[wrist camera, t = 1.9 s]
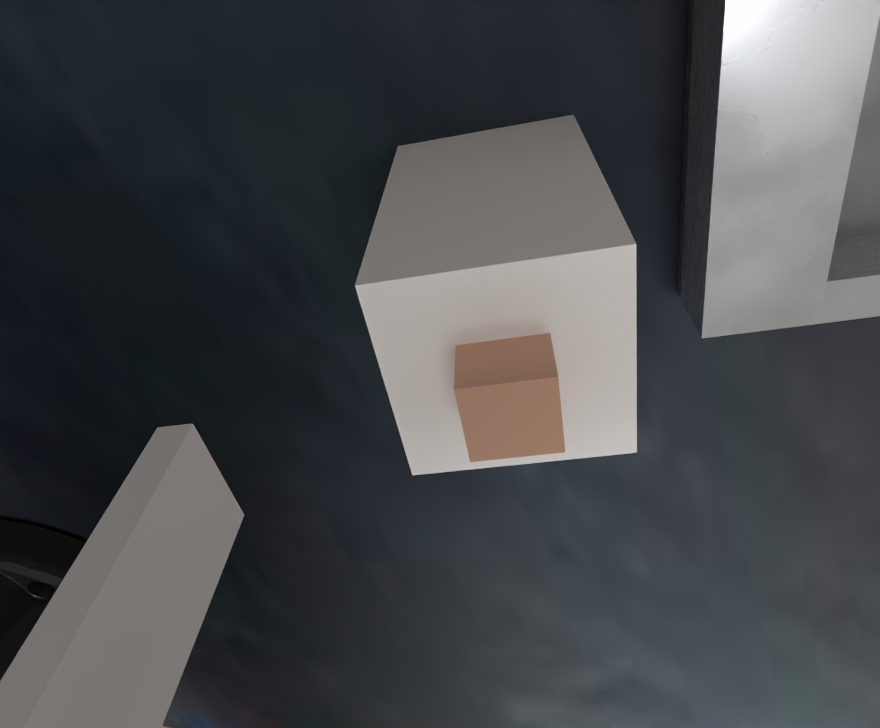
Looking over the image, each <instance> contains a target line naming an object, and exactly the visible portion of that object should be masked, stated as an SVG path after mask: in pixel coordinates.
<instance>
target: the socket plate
mask: <svg viewBox="0 0 880 728" xmlns="http://www.w3.org/2000/svg"><path fill="white" fill-rule="evenodd" d="M677 293H678V295H679V297H680V299H681V301H682V302H683V304H684V306H685V308H686V310H687V312H688V314H689V316H690V317H691V319H692V321H693V323H694V325H695V327H696V329H697V331H698V332H699V334H700V336H701V338H709V337H717V336H725V335H732V334H740V333H748V332H756V331H764V330H772V329H780V328H788V327H796V326H804V325H812V324H820V323H828V322H836V321H844V320H852V319H860V318H868V317H876V316H880V0H689V2H688V26H687V51H686V76H685V100H684V125H683V150H682V174H681V199H680V224H679V248H678V273H677Z"/></svg>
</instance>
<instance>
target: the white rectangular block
mask: <svg viewBox="0 0 880 728" xmlns="http://www.w3.org/2000/svg"><path fill="white" fill-rule="evenodd" d="M355 288H356V291H357V294H358V298H359V301H360V304H361V308H362V311H363V314H364V317H365V321H366V324H367V327H368V331H369V334H370V337H371V340H372V344H373V347H374V350H375V354H376V357H377V360H378V364H379V367H380V370H381V373H382V377H383V380H384V383H385V387H386V390H387V393H388V396H389V400H390V403H391V406H392V410H393V413H394V416H395V420H396V423H397V426H398V429H399V433H400V436H401V439H402V443H403V446H404V449H405V452H406V456H407V459H408V462H409V466H410V469H411V472H412V475H421V474H430V473H440V472H450V471H460V470H470V469H480V468H490V467H499V466H509V465H519V464H529V463H539V462H549V461H559V460H569V459H578V458H588V457H598V456H608V455H618V454H628V453H637V325H636V242H635V240H634V238H633V236H632V234H631V232H630V230H629V228H628V226H627V224H626V222H625V220H624V218H623V216H622V213H621V211H620V209H619V207H618V205H617V203H616V201H615V199H614V197H613V195H612V193H611V191H610V189H609V187H608V185H607V183H606V181H605V178H604V176H603V174H602V172H601V170H600V168H599V166H598V164H597V162H596V160H595V158H594V156H593V154H592V152H591V150H590V148H589V146H588V143H587V141H586V139H585V137H584V135H583V133H582V131H581V129H580V127H579V125H578V123H577V121H576V119H575V117H574V115H569V116H563V117H558V118H552V119H547V120H541V121H535V122H530V123H524V124H519V125H513V126H508V127H502V128H497V129H491V130H485V131H480V132H474V133H469V134H463V135H458V136H452V137H446V138H441V139H435V140H430V141H424V142H419V143H413V144H407V145H402V146H398V147H397V151H396V154H395V157H394V160H393V164H392V167H391V170H390V173H389V177H388V180H387V183H386V186H385V190H384V193H383V196H382V199H381V202H380V206H379V209H378V212H377V215H376V219H375V222H374V225H373V228H372V232H371V235H370V238H369V241H368V245H367V248H366V251H365V254H364V258H363V261H362V264H361V267H360V270H359V274H358V277H357V280H356V283H355Z"/></svg>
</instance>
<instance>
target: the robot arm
mask: <svg viewBox="0 0 880 728" xmlns="http://www.w3.org/2000/svg"><path fill="white" fill-rule="evenodd" d="M243 517H244V514H243V512H242V510H241V508H240V506H239V505H238V503H237V501H236V499H235V498H234V496H233V494H232V492H231V490H230V489H229V487H228V485H227V483H226V482H225V480H224V478H223V476H222V474H221V473H220V471H219V469H218V467H217V466H216V464H215V462H214V460H213V458H212V457H211V455H210V453H209V451H208V449H207V448H206V446H205V444H204V442H203V441H202V439H201V437H200V435H199V433H198V432H197V430H196V428H195V426H194V425H193V424H184V425H175V426H166V427H157V429H156V431H155V432H154V434H153V435H152V437H151V439H150V440H149V442H148V444H147V445H146V447H145V448H144V450H143V452H142V453H141V455H140V456H139V458H138V460H137V461H136V463H135V465H134V466H133V468H132V469H131V471H130V473H129V474H128V476H127V477H126V479H125V481H124V482H123V484H122V485H121V487H120V489H119V490H118V492H117V494H116V495H115V497H114V498H113V500H112V502H111V503H110V505H109V506H108V508H107V510H106V511H105V513H104V515H103V516H102V518H101V519H100V521H99V523H98V524H97V526H96V527H95V529H94V531H93V532H92V534H91V536H90V537H89V539H88V540H87V542H86V543H85V542H82V541H80V540H77V539H75V538H72V537H70V536H67V535H64V534H61V533H58V532H55V531H52V530H49V529H45V528H41V527H37V526H34V525H29V524H24V523H19V522H13V521H7V520H0V728H161V727H162V725H163V722H164V720H165V717H166V715H167V712H168V709H169V707H170V704H171V702H172V699H173V697H174V694H175V691H176V689H177V686H178V684H179V681H180V679H181V676H182V674H183V671H184V668H185V666H186V663H187V661H188V658H189V656H190V653H191V650H192V648H193V645H194V643H195V640H196V638H197V635H198V633H199V630H200V627H201V625H202V622H203V620H204V617H205V615H206V612H207V609H208V607H209V604H210V602H211V599H212V597H213V594H214V591H215V589H216V586H217V584H218V581H219V579H220V576H221V574H222V571H223V568H224V566H225V563H226V561H227V558H228V556H229V553H230V550H231V548H232V545H233V543H234V540H235V538H236V535H237V532H238V530H239V527H240V525H241V522H242V520H243Z"/></svg>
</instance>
